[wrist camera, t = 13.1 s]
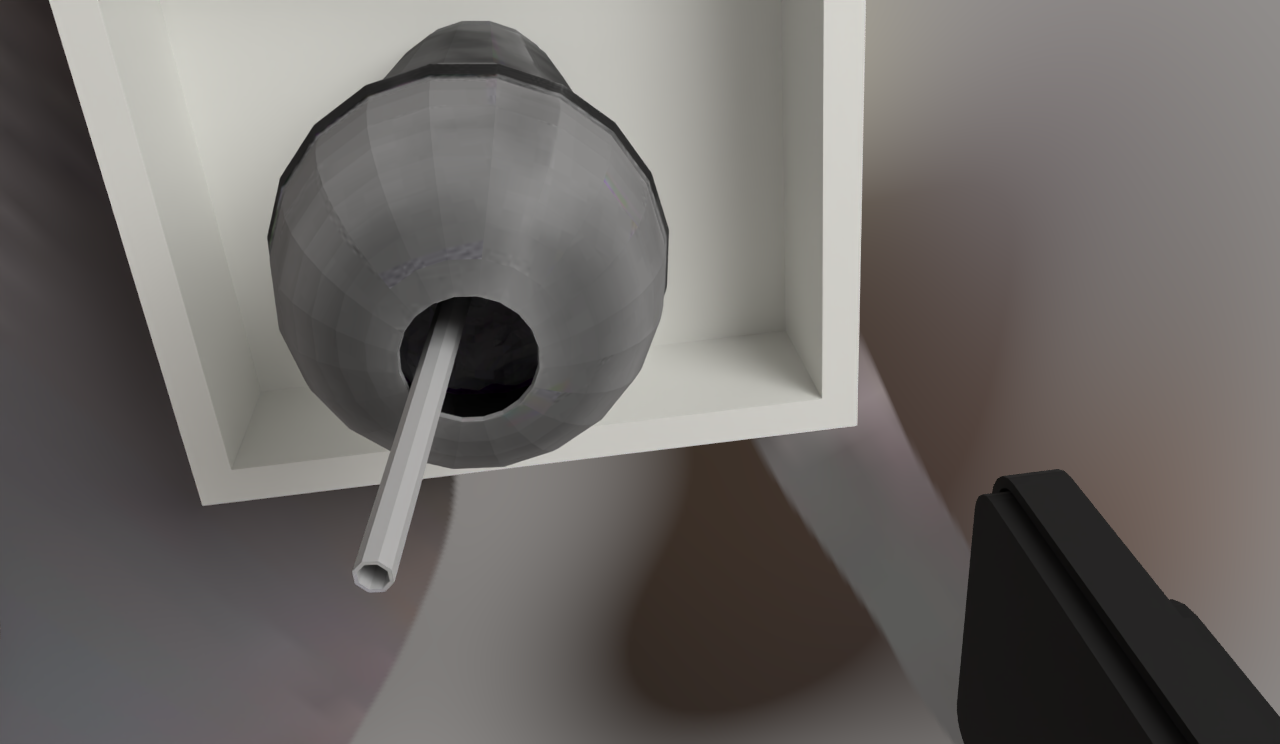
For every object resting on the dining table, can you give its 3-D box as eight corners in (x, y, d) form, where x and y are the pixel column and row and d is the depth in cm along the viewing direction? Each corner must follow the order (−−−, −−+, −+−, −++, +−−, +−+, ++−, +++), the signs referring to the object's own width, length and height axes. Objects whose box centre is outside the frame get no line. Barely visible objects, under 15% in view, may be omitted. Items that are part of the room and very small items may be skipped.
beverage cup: (656, 160, 32) (855, 620, 15) (431, 274, 33) (360, 841, 15) (535, -88, 29) (600, 119, 11) (287, 46, 30) (-14, 434, 12)
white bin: (57, -252, 27) (-29, -257, 22) (812, -309, 28) (872, -326, 23) (238, 414, 35) (202, 505, 31) (812, 347, 36) (857, 425, 32)
